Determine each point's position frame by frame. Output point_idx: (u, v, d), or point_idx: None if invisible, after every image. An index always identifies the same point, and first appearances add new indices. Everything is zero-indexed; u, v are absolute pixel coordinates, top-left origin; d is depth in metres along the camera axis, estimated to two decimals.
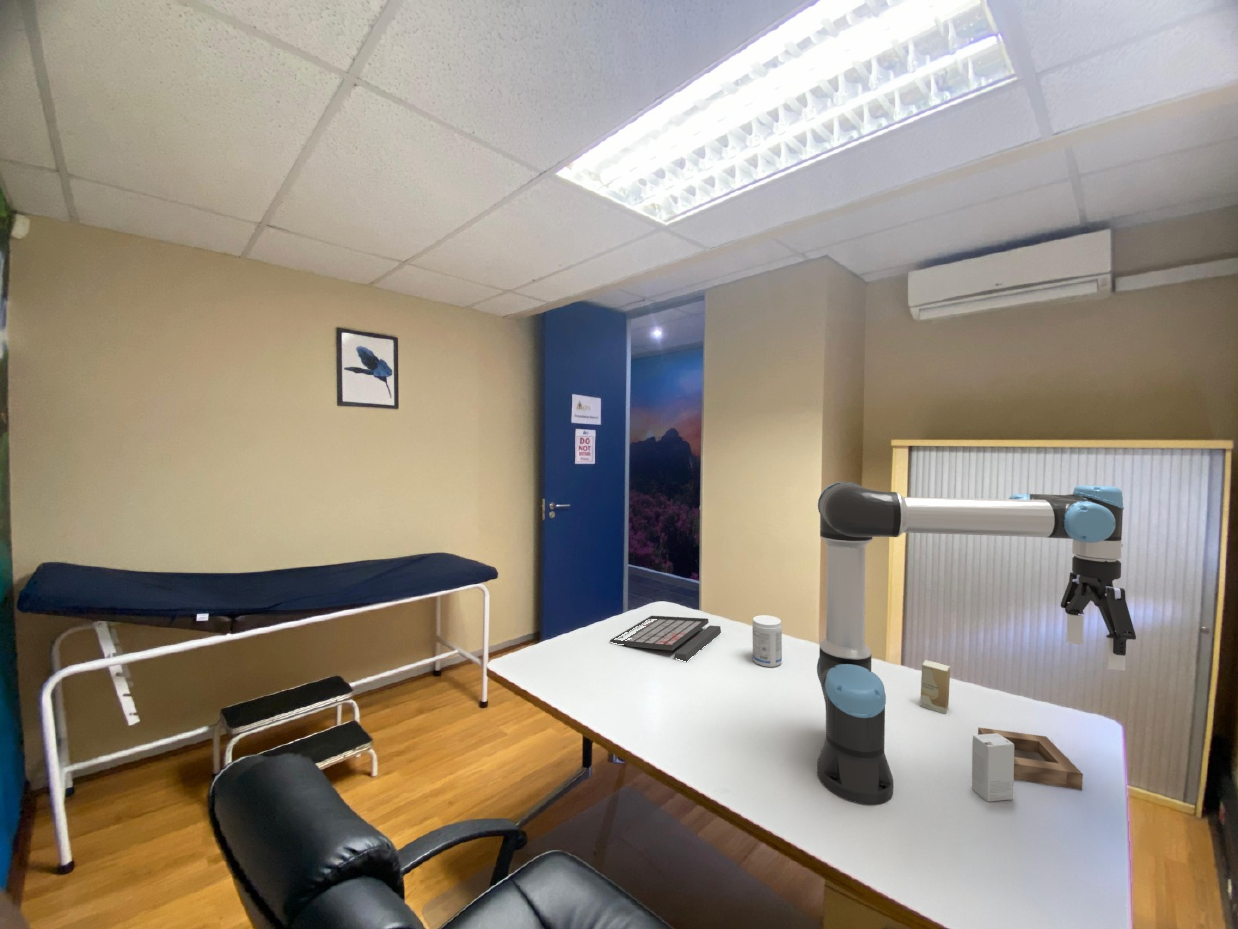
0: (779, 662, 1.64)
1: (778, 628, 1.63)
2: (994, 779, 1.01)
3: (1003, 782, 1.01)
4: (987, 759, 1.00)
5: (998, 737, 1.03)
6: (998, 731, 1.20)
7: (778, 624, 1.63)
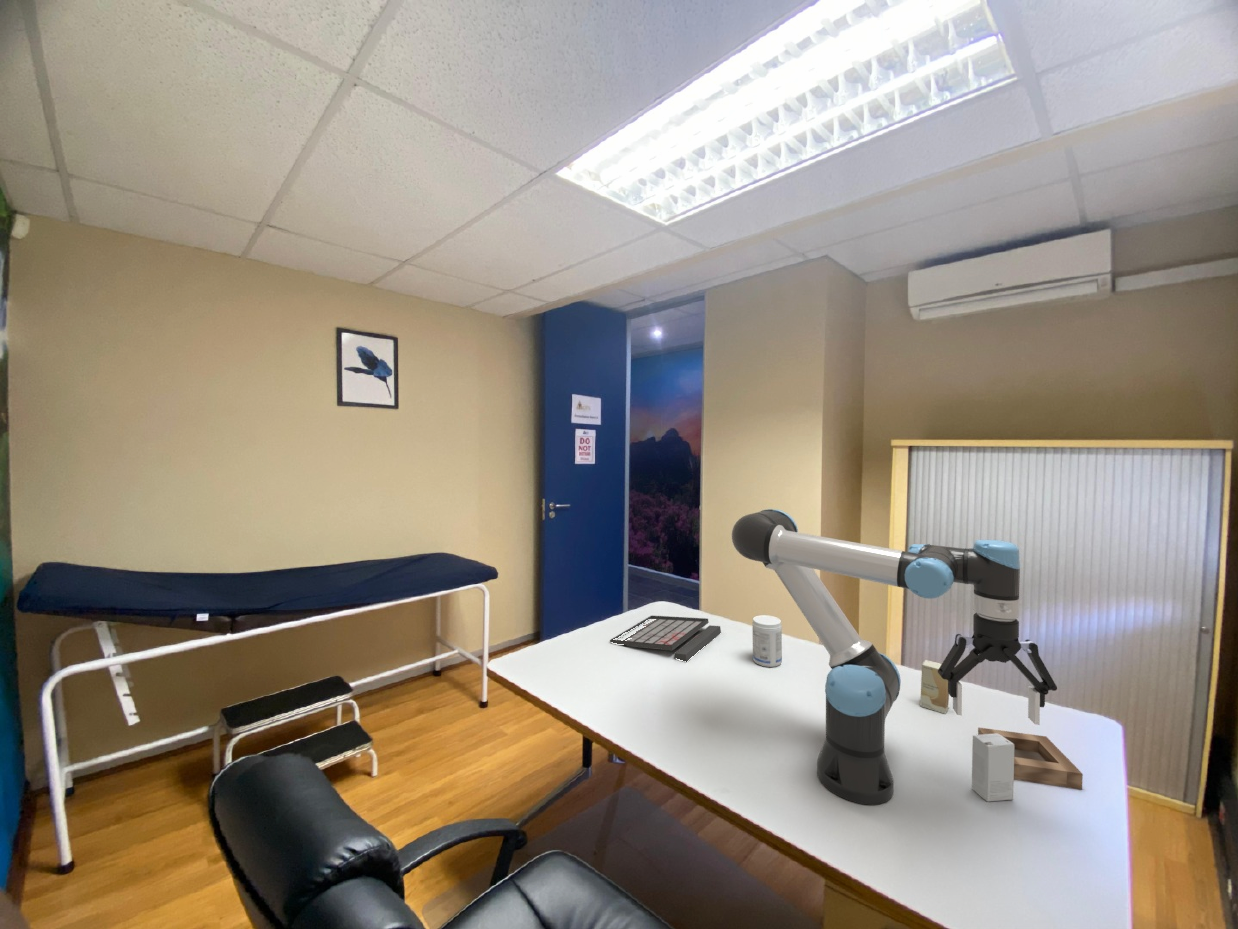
0: (779, 662, 1.64)
1: (778, 628, 1.63)
2: (994, 779, 1.01)
3: (1003, 782, 1.01)
4: (987, 759, 1.00)
5: (998, 737, 1.03)
6: (998, 731, 1.20)
7: (778, 624, 1.63)
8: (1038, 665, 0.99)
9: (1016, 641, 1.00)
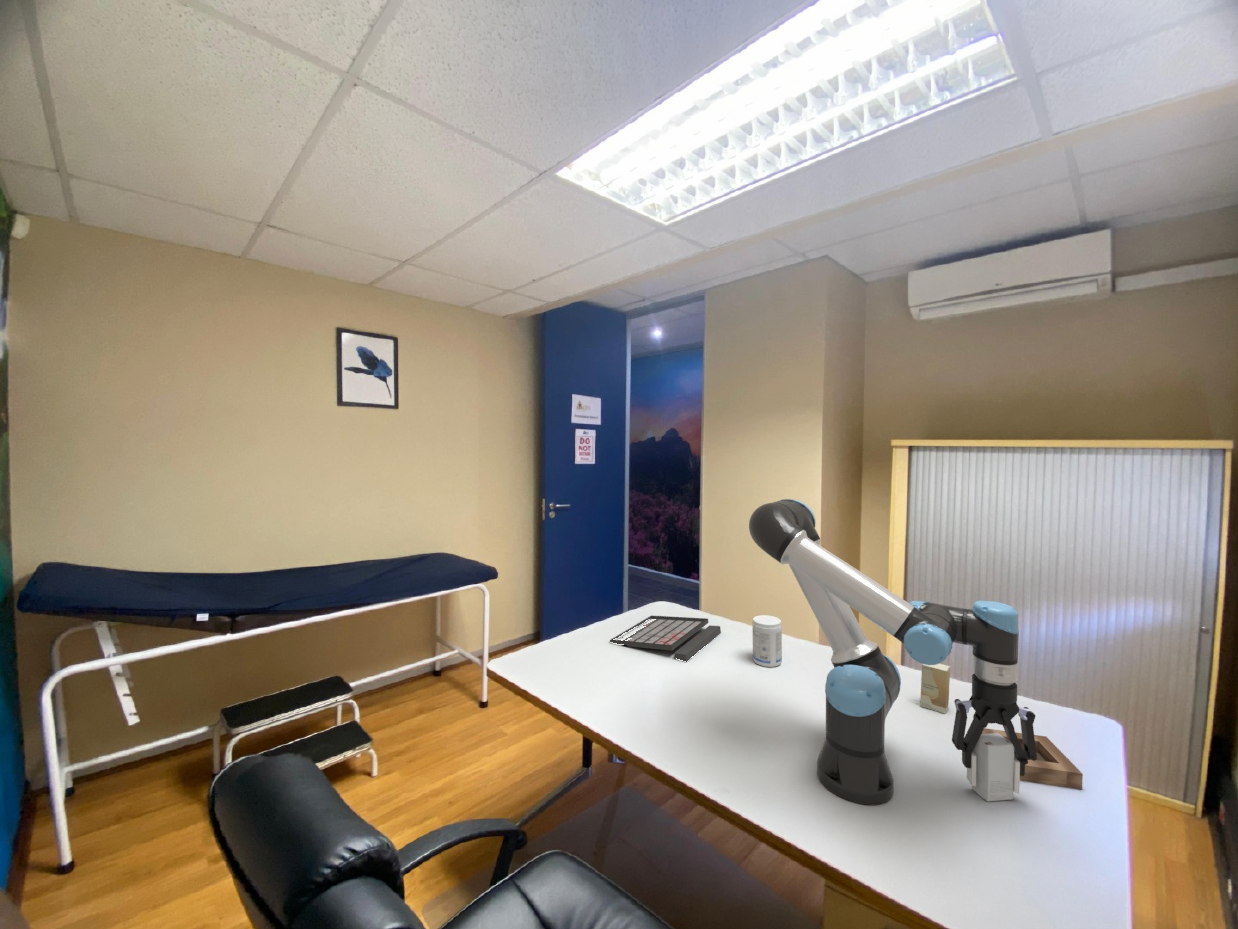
0: (779, 662, 1.64)
1: (778, 628, 1.63)
2: (994, 778, 1.01)
3: (1003, 782, 1.01)
4: (987, 759, 1.00)
5: (998, 737, 1.03)
6: (998, 731, 1.20)
7: (778, 624, 1.63)
8: (1028, 733, 1.00)
9: (1014, 704, 1.00)
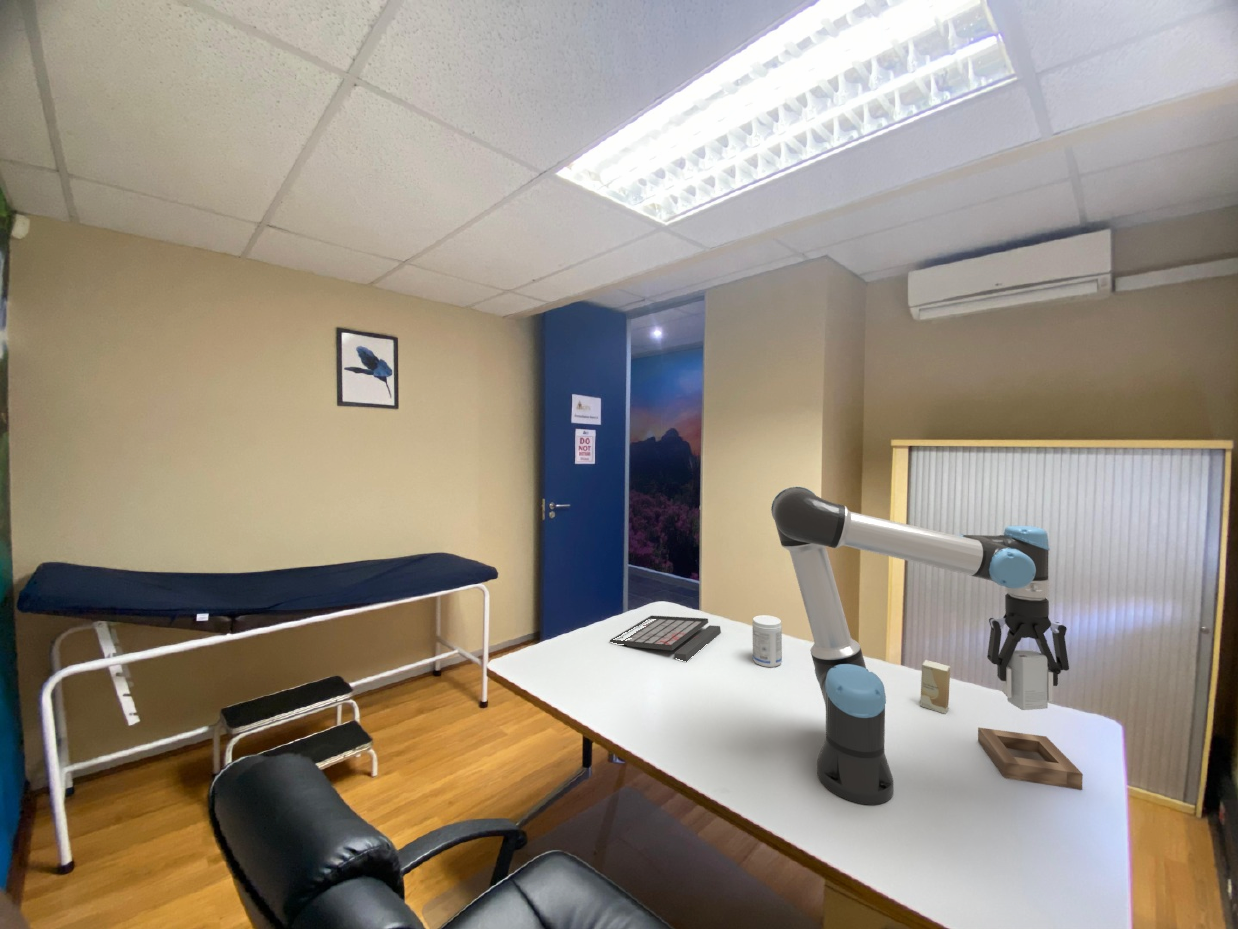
0: (779, 662, 1.64)
1: (778, 628, 1.63)
2: (1028, 688, 1.08)
3: (1038, 692, 1.08)
4: (1022, 670, 1.08)
5: (1031, 652, 1.10)
6: (998, 731, 1.20)
7: (778, 624, 1.63)
8: (1060, 645, 1.07)
9: (1046, 619, 1.08)
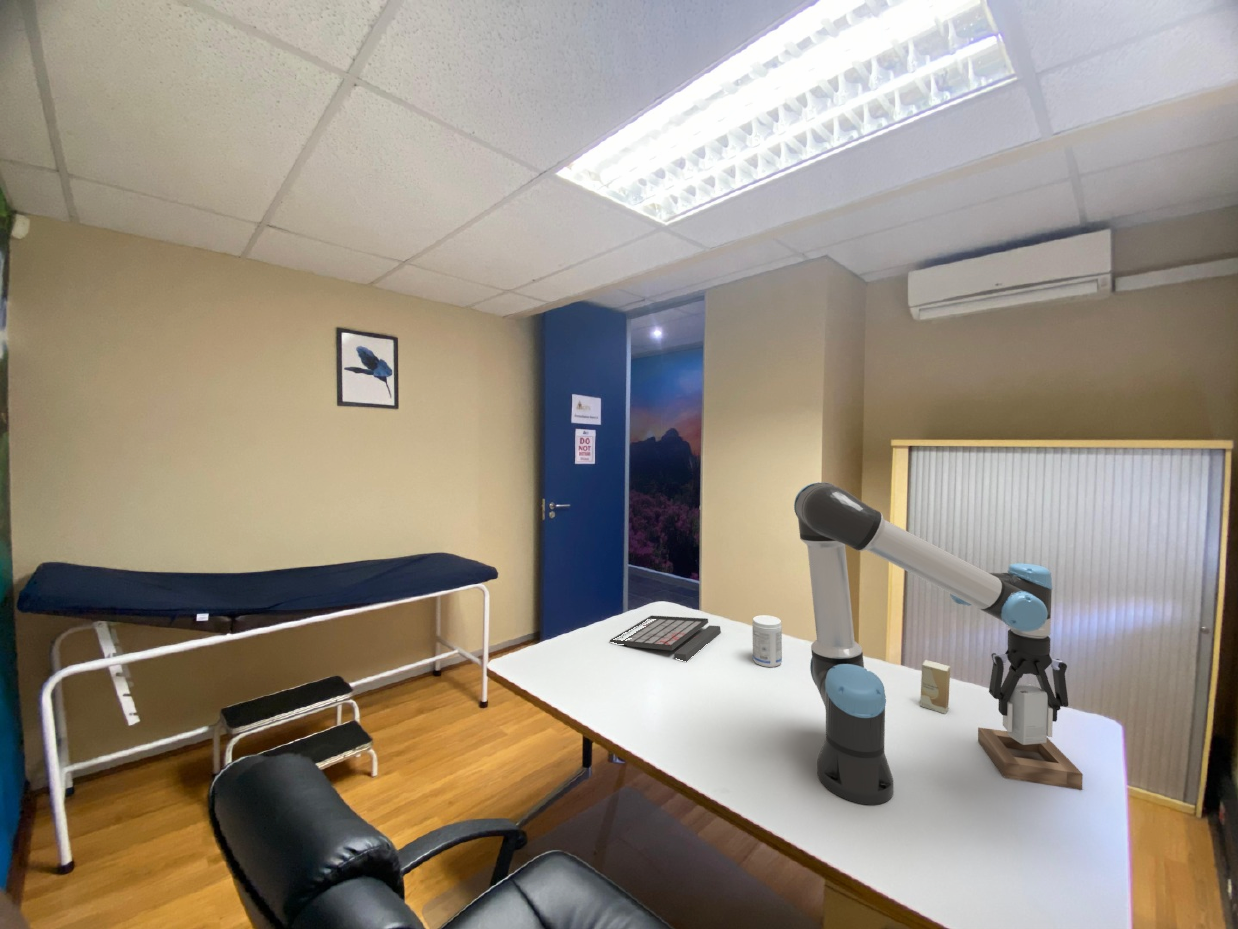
0: (779, 662, 1.64)
1: (778, 628, 1.63)
2: (1029, 724, 1.10)
3: (1038, 727, 1.11)
4: (1023, 706, 1.10)
5: (1032, 687, 1.13)
6: (998, 731, 1.20)
7: (778, 624, 1.63)
8: (1060, 682, 1.10)
9: (1047, 656, 1.10)
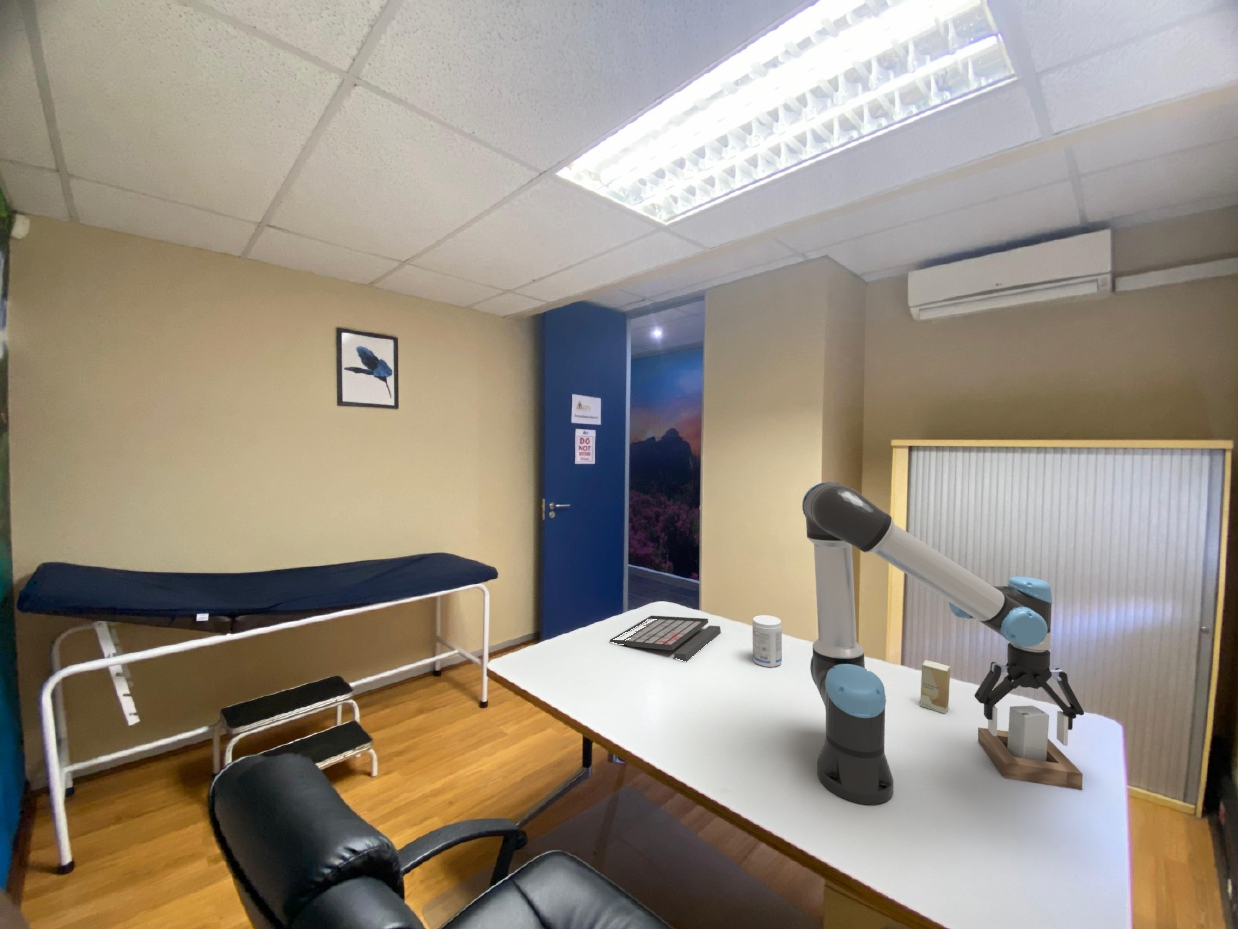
0: (779, 662, 1.64)
1: (778, 628, 1.63)
2: (1029, 745, 1.10)
3: (1037, 749, 1.10)
4: (1024, 727, 1.10)
5: (1033, 709, 1.12)
6: (998, 731, 1.20)
7: (778, 624, 1.63)
8: (1067, 692, 1.09)
9: (1047, 669, 1.10)
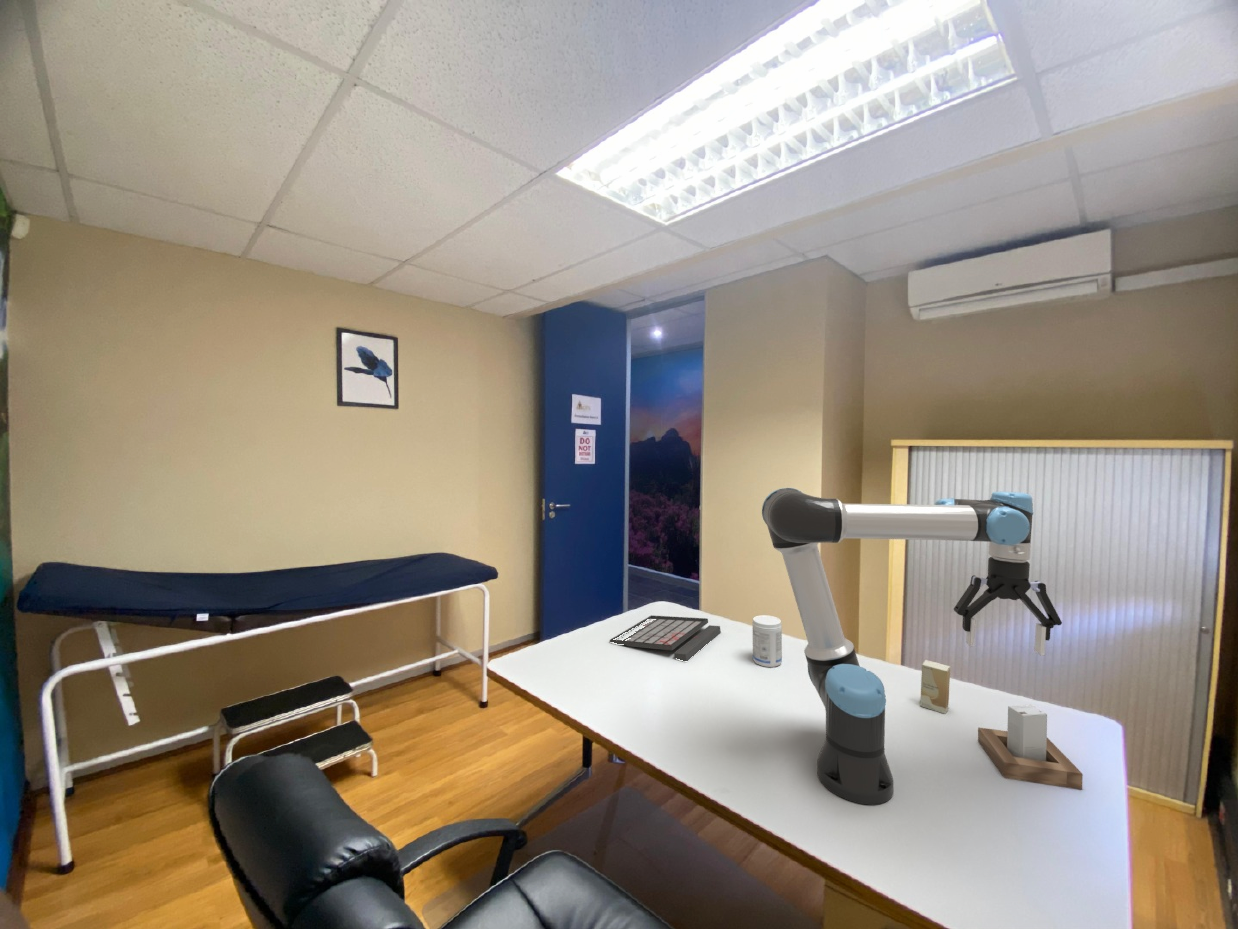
0: (779, 662, 1.64)
1: (778, 628, 1.63)
2: (1028, 745, 1.10)
3: (1037, 748, 1.11)
4: (1022, 727, 1.10)
5: (1032, 708, 1.13)
6: (998, 731, 1.20)
7: (778, 624, 1.63)
8: (1045, 602, 1.11)
9: (1026, 581, 1.12)
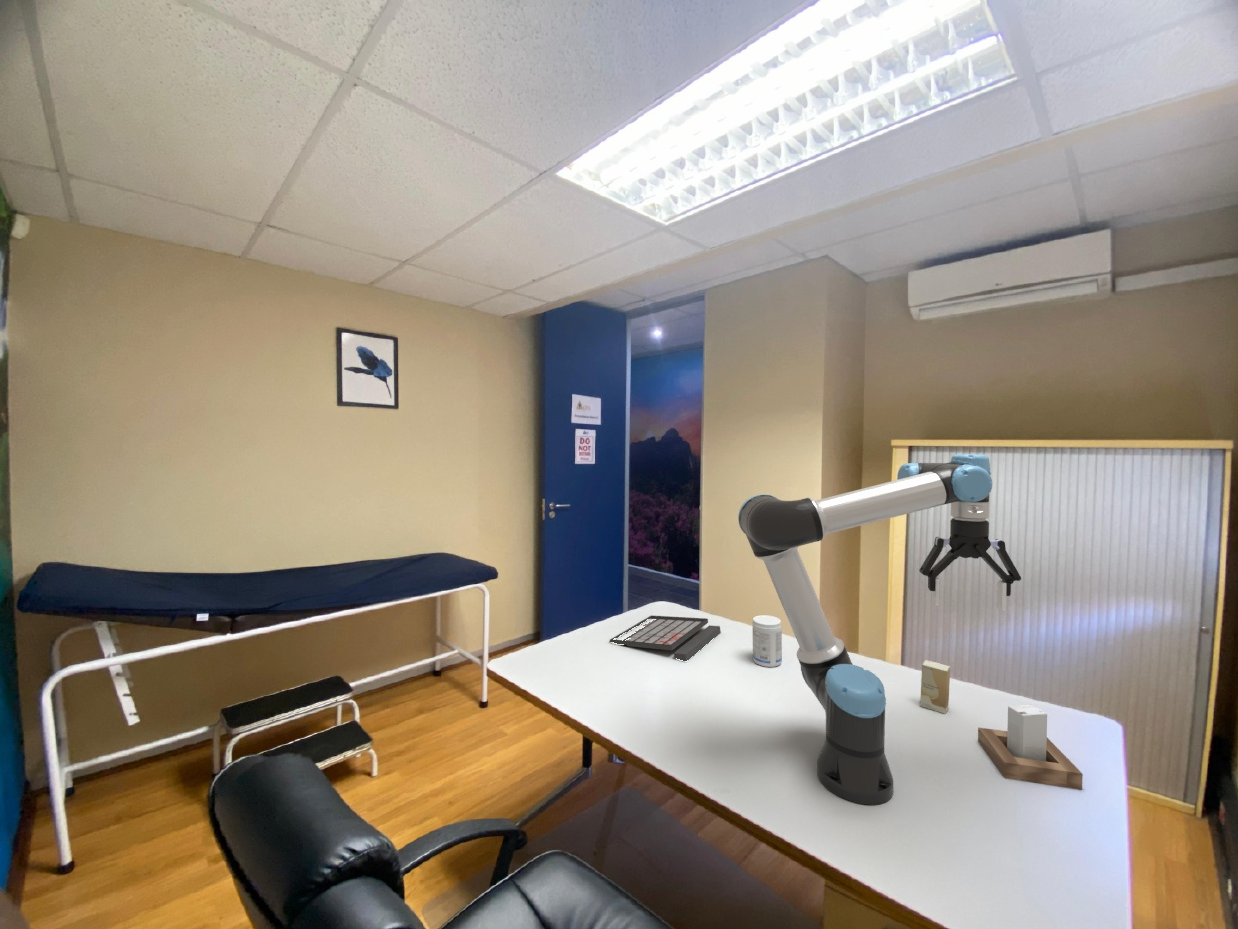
0: (779, 662, 1.64)
1: (778, 628, 1.63)
2: (1028, 745, 1.10)
3: (1037, 748, 1.11)
4: (1022, 727, 1.10)
5: (1032, 708, 1.13)
6: (998, 731, 1.20)
7: (778, 624, 1.63)
8: (1005, 559, 1.14)
9: (986, 539, 1.15)
